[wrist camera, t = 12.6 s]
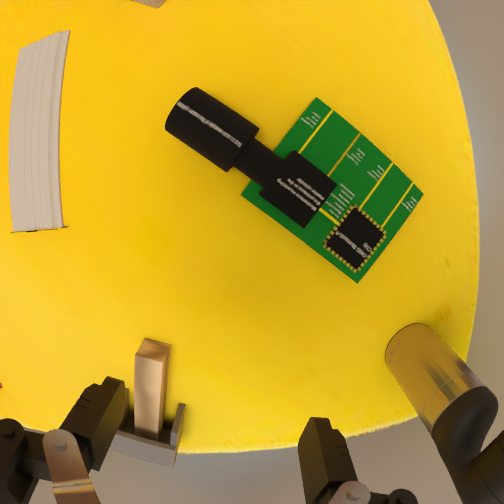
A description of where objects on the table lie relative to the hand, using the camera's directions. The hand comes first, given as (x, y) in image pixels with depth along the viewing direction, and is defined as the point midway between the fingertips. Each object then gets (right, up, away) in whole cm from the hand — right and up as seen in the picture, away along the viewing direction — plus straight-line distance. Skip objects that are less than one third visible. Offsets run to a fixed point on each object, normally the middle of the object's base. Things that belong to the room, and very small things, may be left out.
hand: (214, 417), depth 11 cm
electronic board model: (+8, +18, +25) cm, 31 cm away
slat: (-14, -15, +33) cm, 39 cm away
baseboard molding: (-30, +26, +23) cm, 46 cm away
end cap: (-16, -21, +34) cm, 44 cm away
